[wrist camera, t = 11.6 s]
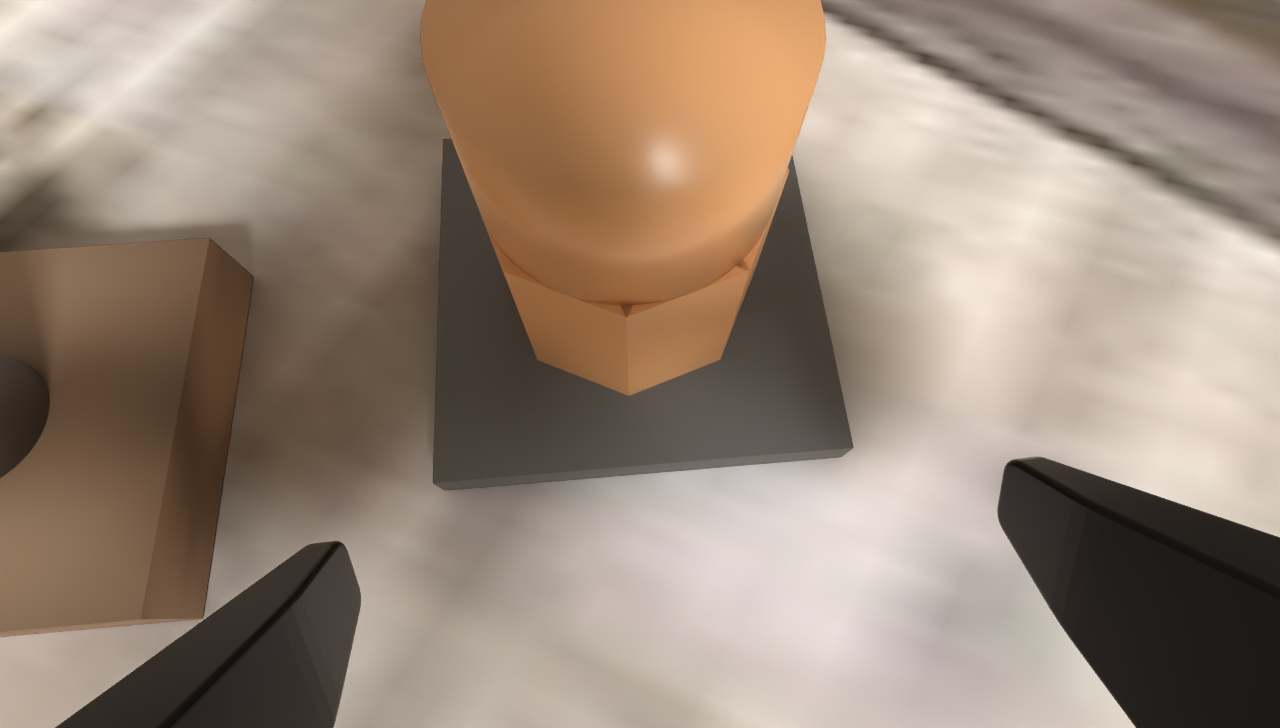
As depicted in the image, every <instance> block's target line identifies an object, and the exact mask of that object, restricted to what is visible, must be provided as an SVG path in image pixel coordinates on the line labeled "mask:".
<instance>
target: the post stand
mask: <svg viewBox="0 0 1280 728" xmlns="http://www.w3.org/2000/svg"><path fill="white" fill-rule="evenodd" d="M252 282H253V276H252V275H251V274H250V273H249V272H248V271H247V270H246V269H244V268H243V267H242V266H241V265H240V264H239V263H238V262H237V261H235V260H234V259H233V258H232V257H231V256H230V255H229V254H227V253H226V252H225V251H224V250H223V249H222V248H221V247H220V246H218V245H217V244H216V243H215V242H214V241H213V240H212V239H210V238H198V239H183V240H169V241H155V242H140V243H126V244H111V245H97V246H82V247H68V248H53V249H39V250H24V251H10V252H0V637H5V636H16V635H27V634H38V633H49V632H60V631H71V630H83V629H94V628H105V627H116V626H127V625H138V624H149V623H160V622H171V621H182V620H194V619H203V613H204V607H205V600H206V593H207V586H208V580H209V573H210V566H211V559H212V552H213V546H214V539H215V532H216V525H217V519H218V512H219V505H220V498H221V492H222V485H223V478H224V471H225V465H226V458H227V451H228V444H229V438H230V431H231V424H232V417H233V411H234V404H235V397H236V390H237V384H238V377H239V370H240V363H241V357H242V350H243V343H244V336H245V330H246V323H247V316H248V309H249V303H250V296H251V289H252Z"/></svg>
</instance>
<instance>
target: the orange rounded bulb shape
mask: <svg viewBox="0 0 1280 728" xmlns="http://www.w3.org/2000/svg"><path fill="white" fill-rule="evenodd" d="M420 41H421V50H422V59H423V62H424V66H425V69H426V73H427V76H428V79H429V82H430V84H431V87H432V89H433V92H434V95H435V97H436V100H437V102H438V105H439V108H440V110H441V113H442V115H443V118H444V120H445V123H446V126H447V128H448V131H449V133H450V136H451V138H452V141H453V144H454V146H455V149H456V151H457V154H458V156H459V159H460V162H461V164H462V167H463V169H464V173H465V175H466V178H467V181H468V183H469V186H470V188H471V191H472V193H473V196H474V199H475V201H476V204H477V206H478V209H479V211H480V214H481V217H482V219H483V222H484V224H485V227H486V229H487V232H488V234H489V237H490V240H491V242H492V245H493V247H494V250H495V252H496V255H497V258H498V260H499V263H500V265H501V268H502V270H503V273H504V276H505V278H506V280H507V283H508V286H509V288H510V291H511V293H512V296H513V298H514V301H515V304H516V306H517V309H518V311H519V314H520V316H521V319H522V322H523V324H524V327H525V329H526V332H527V334H528V337H529V340H530V342H531V345H532V347H533V350H534V352H535V355H536V358H537V360H538V361H541V362H544V363H546V364H549V365H551V366H554V367H556V368H559V369H561V370H564V371H567V372H569V373H572V374H574V375H577V376H579V377H582V378H585V379H587V380H590V381H592V382H595V383H597V384H600V385H602V386H605V387H608V388H610V389H613V390H615V391H618V392H620V393H623V394H626V395H628V396H630V395H633V394H635V393H638V392H640V391H643V390H645V389H648V388H650V387H653V386H655V385H658V384H660V383H663V382H665V381H668V380H670V379H673V378H675V377H678V376H680V375H683V374H685V373H688V372H690V371H693V370H695V369H698V368H701V367H703V366H706V365H708V364H711V363H713V362H716V361H718V360H721V357H722V354H723V351H724V349H725V346H726V344H727V341H728V339H729V336H730V333H731V331H732V328H733V326H734V323H735V321H736V318H737V315H738V313H739V310H740V308H741V305H742V303H743V300H744V297H745V295H746V292H747V290H748V287H749V285H750V282H751V280H752V277H753V274H754V271H755V269H756V266H757V263H758V260H759V257H760V254H761V251H762V248H763V245H764V243H765V240H766V237H767V234H768V231H769V228H770V225H771V222H772V219H773V217H774V214H775V211H776V208H777V205H778V202H779V199H780V196H781V193H782V191H783V188H784V185H785V182H786V179H787V176H788V173H789V169H788V165H789V162H790V159H791V156H792V153H793V150H794V147H795V144H796V141H797V138H798V135H799V132H800V129H801V126H802V123H803V121H804V118H805V115H806V112H807V109H808V106H809V103H810V100H811V97H812V94H813V91H814V88H815V85H816V82H817V79H818V76H819V73H820V69H821V66H822V63H823V59H824V52H825V43H826V30H825V18H824V14H823V9H822V5H821V1H820V0H426V3H425V7H424V12H423V16H422V21H421V36H420Z"/></svg>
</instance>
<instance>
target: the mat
mask: <svg viewBox="0 0 1280 728" xmlns="http://www.w3.org/2000/svg"><path fill="white" fill-rule="evenodd" d="M788 169H789V173H788V176H787V179H786V182H785V185H784V188H783V191H782V193H781V196H780V199H779V202H778V205H777V208H776V211H775V214H774V217H773V219H772V222H771V225H770V228H769V231H768V234H767V237H766V240H765V243H764V245H763V248H762V251H761V254H760V257H759V260H758V263H757V266H756V269H755V271H754V274H753V277H752V280H751V282H750V285H749V287H748V290H747V292H746V295H745V297H744V300H743V303H742V305H741V308H740V310H739V313H738V315H737V318H736V321H735V323H734V326H733V328H732V331H731V333H730V336H729V339H728V341H727V344H726V346H725V349H724V351H723V354H722V357H721V360H718V361H716V362H713V363H711V364H708V365H706V366H703V367H701V368H698V369H695V370H693V371H690V372H688V373H685V374H683V375H680V376H678V377H675V378H673V379H670V380H668V381H665V382H663V383H660V384H658V385H655V386H653V387H650V388H648V389H645V390H643V391H640V392H638V393H635V394H633V395H630V396H628V395H626V394H623V393H620V392H618V391H615V390H613V389H610V388H608V387H605V386H602V385H600V384H597V383H595V382H592V381H590V380H587V379H585V378H582V377H579V376H577V375H574V374H572V373H569V372H567V371H564V370H561V369H559V368H556V367H554V366H551V365H549V364H546V363H544V362H541V361H538V360H537V358H536V355H535V352H534V350H533V347H532V345H531V342H530V340H529V337H528V334H527V332H526V329H525V327H524V324H523V322H522V319H521V316H520V314H519V311H518V309H517V306H516V304H515V301H514V298H513V296H512V293H511V291H510V288H509V286H508V283H507V280H506V278H505V276H504V273H503V270H502V268H501V265H500V263H499V260H498V258H497V255H496V252H495V250H494V247H493V245H492V242H491V240H490V237H489V234H488V232H487V229H486V227H485V224H484V222H483V219H482V217H481V214H480V211H479V209H478V206H477V204H476V201H475V199H474V196H473V193H472V191H471V188H470V186H469V183H468V181H467V178H466V175H465V173H464V169H463V167H462V164H461V162H460V159H459V156H458V154H457V151H456V149H455V146H454V144H453V141H452V139H443V163H442V196H441V229H440V262H439V295H438V328H437V361H436V394H435V427H434V460H433V483H434V484H435V485H437V486H438V487H440V488H441V489H443V490H457V489H469V488H481V487H492V486H504V485H516V484H528V483H540V482H552V481H564V480H576V479H587V478H599V477H611V476H623V475H635V474H647V473H659V472H671V471H683V470H694V469H706V468H718V467H730V466H742V465H754V464H766V463H778V462H789V461H801V460H813V459H825V458H837V457H842V456H843V455H845V454H846V453H847V452H849V451H850V450H851V449H852V448H853V443H852V438H851V433H850V429H849V424H848V419H847V414H846V409H845V405H844V400H843V395H842V390H841V386H840V381H839V376H838V371H837V367H836V362H835V357H834V352H833V347H832V343H831V338H830V333H829V328H828V324H827V319H826V314H825V309H824V305H823V300H822V295H821V290H820V285H819V281H818V276H817V271H816V266H815V262H814V257H813V252H812V247H811V243H810V238H809V233H808V228H807V223H806V219H805V214H804V209H803V204H802V200H801V195H800V190H799V185H798V181H797V176H796V171H795V166H794V161H793V157H792V156H791V159H790V162H789V165H788Z"/></svg>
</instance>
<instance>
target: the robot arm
mask: <svg viewBox="0 0 1280 728" xmlns="http://www.w3.org/2000/svg"><path fill="white" fill-rule="evenodd" d="M997 511H998V519H999V522H1000V525H1001V527H1002V529H1003V531H1004V533H1005V534H1006V536H1007V538H1008V539H1009V541H1010V543H1011V544H1012V546H1013V548H1014V549H1015V551H1016V553H1017V554H1018V556H1019V558H1020V559H1021V561H1022V563H1023V564H1024V566H1025V568H1026V569H1027V571H1028V573H1029V574H1030V576H1031V578H1032V579H1033V581H1034V583H1035V584H1036V586H1037V588H1038V589H1039V591H1040V593H1041V594H1042V596H1043V598H1044V599H1045V601H1046V603H1047V604H1048V606H1049V608H1050V609H1051V611H1052V612H1053V614H1054V615H1055V617H1056V619H1057V620H1058V622H1059V623H1060V625H1061V626H1062V628H1063V629H1064V630H1065V632H1066V633H1067V635H1068V636H1069V638H1070V639H1071V640H1072V642H1073V643H1074V644H1075V646H1076V647H1077V649H1078V650H1079V651H1080V653H1081V654H1082V655H1083V657H1084V658H1085V659H1086V661H1087V662H1088V663H1089V665H1090V666H1091V667H1092V669H1093V670H1094V672H1095V673H1096V674H1097V676H1098V677H1099V678H1100V680H1101V681H1102V682H1103V684H1104V685H1105V686H1106V688H1107V689H1108V690H1109V692H1110V693H1111V695H1112V696H1113V697H1114V699H1115V700H1116V701H1117V703H1118V704H1119V705H1120V707H1121V708H1122V709H1123V711H1124V712H1125V713H1126V715H1127V716H1128V718H1129V719H1130V720H1131V722H1132V723H1133V724H1134V726H1135V727H1136V728H1280V537H1277V536H1274V535H1271V534H1268V533H1265V532H1262V531H1259V530H1256V529H1253V528H1250V527H1247V526H1244V525H1241V524H1238V523H1235V522H1232V521H1229V520H1226V519H1223V518H1221V517H1218V516H1215V515H1212V514H1209V513H1206V512H1203V511H1200V510H1197V509H1194V508H1191V507H1188V506H1185V505H1182V504H1179V503H1176V502H1173V501H1170V500H1167V499H1164V498H1161V497H1158V496H1156V495H1153V494H1150V493H1147V492H1144V491H1141V490H1138V489H1135V488H1132V487H1129V486H1126V485H1123V484H1120V483H1117V482H1114V481H1111V480H1108V479H1105V478H1102V477H1099V476H1096V475H1093V474H1091V473H1088V472H1085V471H1082V470H1079V469H1076V468H1073V467H1070V466H1067V465H1064V464H1061V463H1058V462H1055V461H1052V460H1049V459H1046V458H1043V457H1029V458H1021V459H1013V460H1011V461H1009V462H1008V463H1007V465H1006V466H1005V469H1004V473H1003V479H1002V485H1001V490H1000V496H999V502H998V510H997ZM360 606H361V593H360V588H359V585H358V582H357V579H356V576H355V572H354V569H353V566H352V563H351V560H350V557H349V554H348V551H347V549H346V547H345V546H344V544H343V543H341V542H339V541H332V542H324V543H315V544H310V545H307V546H306V547H304V548H303V549H301V550H300V551H299V552H297V553H296V554H294V555H293V556H292V557H290V558H289V559H288V560H286V561H285V562H283V563H282V564H281V565H279V566H278V567H277V568H275V569H274V570H272V571H271V572H270V573H268V574H267V575H265V576H264V577H263V578H261V579H260V580H259V581H257V582H256V583H254V584H253V585H252V586H250V587H249V588H248V589H246V590H245V591H243V592H242V593H241V594H239V595H238V596H236V597H235V598H234V599H232V600H231V601H230V602H228V603H227V604H225V605H224V606H223V607H221V608H220V609H219V610H217V611H216V612H214V613H213V614H212V615H210V616H209V617H207V618H206V619H205V620H203V621H202V622H201V623H199V624H198V625H196V626H195V627H194V628H192V629H191V630H189V631H188V632H187V633H185V634H184V635H183V636H181V637H180V638H178V639H177V640H176V641H174V642H173V643H172V644H170V645H169V646H167V647H166V648H165V649H163V650H162V651H160V652H159V653H158V654H156V655H155V656H154V657H152V658H151V659H149V660H148V661H147V662H145V663H144V664H143V665H141V666H140V667H138V668H137V669H136V670H134V671H133V672H131V673H130V674H129V675H127V676H126V677H125V678H123V679H122V680H120V681H119V682H118V683H116V684H115V685H114V686H112V687H111V688H109V689H108V690H107V691H105V692H104V693H102V694H101V695H100V696H98V697H97V698H96V699H94V700H93V701H91V702H90V703H89V704H87V705H86V706H84V707H83V708H82V709H80V710H79V711H78V712H76V713H75V714H73V715H72V716H71V717H69V718H68V719H67V720H65V721H64V722H62V723H61V724H60V725H58V726H57V727H55V728H333V727H334V724H335V720H336V716H337V712H338V708H339V704H340V700H341V695H342V690H343V686H344V681H345V676H346V672H347V667H348V663H349V658H350V653H351V649H352V644H353V639H354V635H355V630H356V625H357V621H358V616H359V611H360Z"/></svg>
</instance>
